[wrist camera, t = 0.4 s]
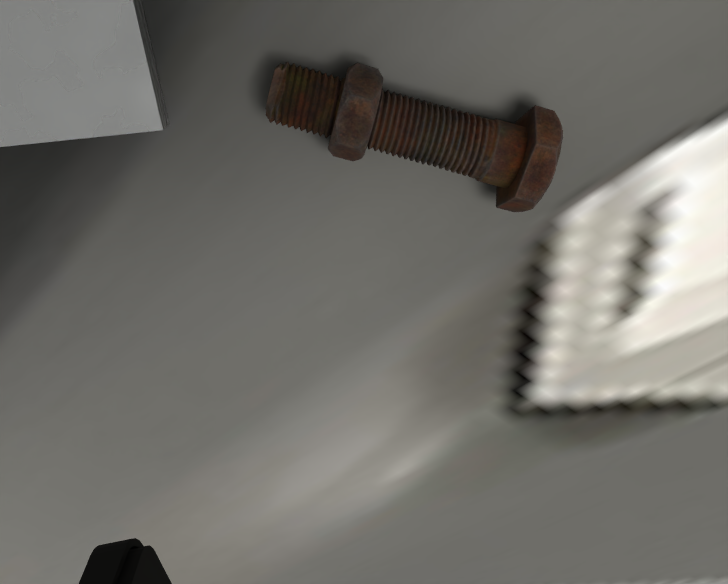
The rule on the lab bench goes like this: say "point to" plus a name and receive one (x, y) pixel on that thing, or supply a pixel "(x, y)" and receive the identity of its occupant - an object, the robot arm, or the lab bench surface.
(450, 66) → the lab bench surface
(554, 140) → the bolt
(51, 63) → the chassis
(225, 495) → the lab bench surface
